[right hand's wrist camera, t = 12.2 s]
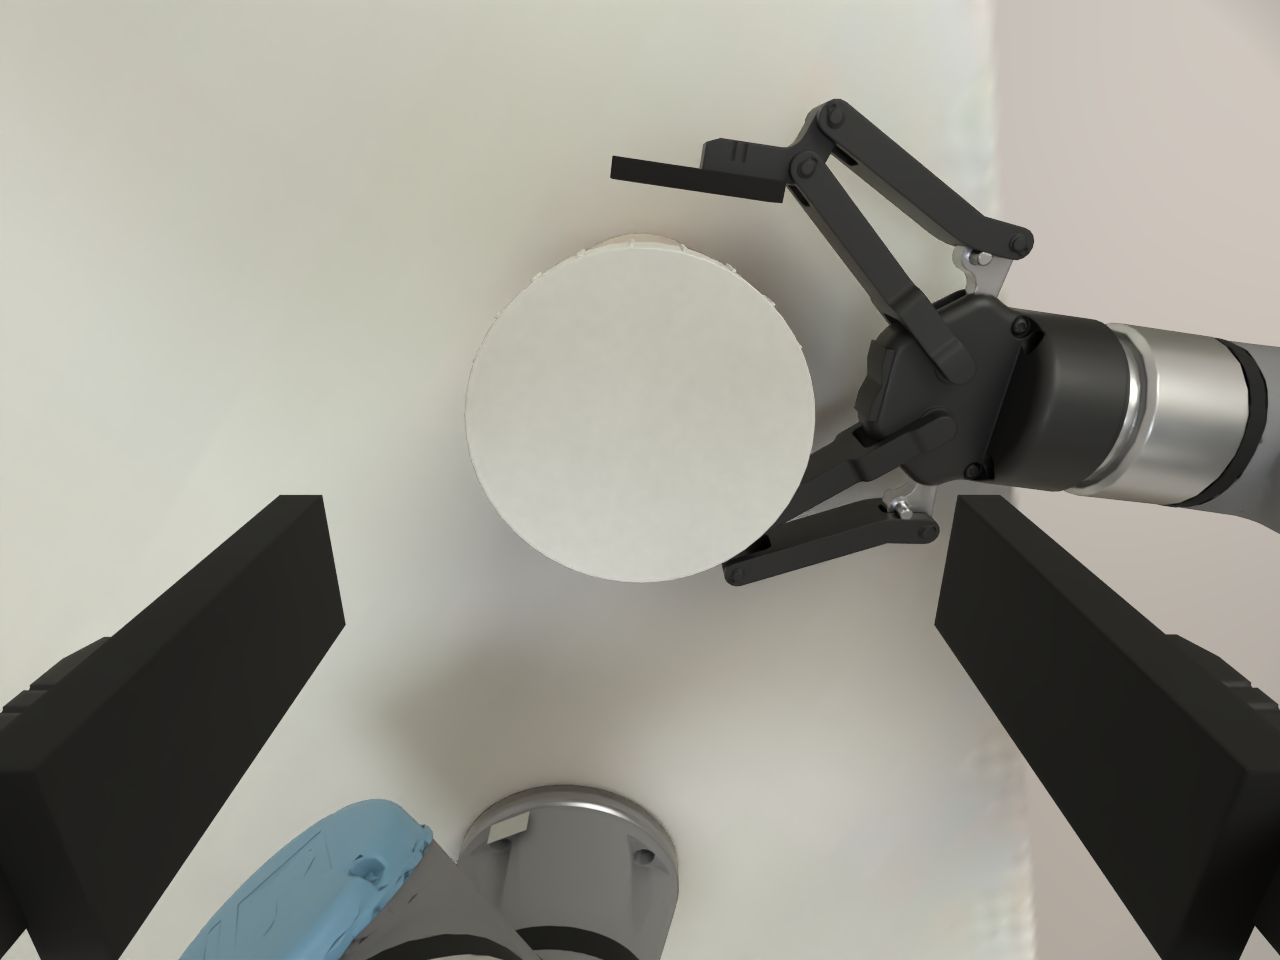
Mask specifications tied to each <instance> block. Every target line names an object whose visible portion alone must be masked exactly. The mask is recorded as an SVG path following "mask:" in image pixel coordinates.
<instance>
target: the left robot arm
mask: <svg viewBox="0 0 1280 960" xmlns="http://www.w3.org/2000/svg"><path fill="white" fill-rule="evenodd" d="M830 154H832V155H833V156H834V157H835V158H837V159H838V160H839V161H840V162H842V163H843V164H844V165H845V166H847V167H848V168H849V169H850V170H852V171H853V172H854V173H855V174H857V175H858V176H859V177H860V178H862V179H863V180H864V181H865V182H867V183H868V184H869V185H870V186H872V187H873V188H874V189H875V190H877V191H878V192H879V193H880V194H882V195H883V196H884V197H885V198H887V199H888V200H889V201H890V202H891V203H893V204H894V205H895V206H896V207H898V208H899V209H900V210H901V211H903V212H904V213H905V214H906V215H908V216H909V217H910V218H911V219H913V220H914V221H915V222H916V223H918V224H919V225H920V226H921V227H923V228H924V229H925V230H926V231H928V232H929V233H930V234H932V235H933V236H934V237H936V238H937V239H939V240H941V241H943V242H945V243H947V244H949V245H952V246H955V249H954V251H953V255H952V256H953V263H954V264H955V266H956V267H957V268H959V269H960V270H962V271H963V272H964V273H965V275H966V278H967V285H966V288H965V289H963V290H959V291H956V292H954V293H952V294H950V295H948V296H946V297H944V298H942V299H940V300H938V301H936V302H934V303H932V304H931V302H930V301H929V300H928V298H927V297H926V296H925V294H924V293H923V292H922V291H921V290H920V289H919V288H918V287H917V286H915V285H914V284H913V282H912V281H911V280H910V278H909V277H908V276H907V274H906V273H905V272H904V270H903V269H902V268H901V266H900V265H899V263H898V262H897V261H896V259H895V258H894V257H893V255H892V254H891V253H890V251H889V250H888V248H887V247H886V246H885V244H884V243H883V242H882V240H881V239H880V238H879V236H878V235H877V233H876V232H875V231H874V229H873V228H872V227H871V225H870V224H869V223H868V221H867V220H866V218H865V217H864V216H863V214H862V213H861V212H860V210H859V209H858V208H857V206H856V205H855V204H854V202H853V201H852V199H851V198H850V197H849V195H848V194H847V193H846V191H845V190H844V189H843V187H842V186H841V184H840V183H839V182H838V180H837V179H836V178H835V176H834V175H833V174H832V172H831V171H830V169H829V168H828V167H827V165H826V164H825V162H826V161H827V159H828V157H829V155H830ZM610 178H612V179H617V180H624V181H630V182H637V183H644V184H651V185H657V186H664V187H671V188H678V189H685V190H691V191H698V192H705V193H712V194H718V195H725V196H732V197H739V198H746V199H752V200H759V201H766V202H775V203H782V202H783V197H784V192H785V187H787V188H788V189H789V191H790V192H791V193H792V195H793V196H794V197H795V199H796V200H797V201H798V203H799V204H800V205H801V206H802V208H803V209H804V210H805V212H806V213H807V214H808V216H809V217H810V218H811V220H812V221H813V222H814V224H815V225H816V226H817V227H818V229H819V230H820V231H821V233H822V234H823V235H824V237H825V238H826V239H827V241H828V242H829V243H830V245H831V246H832V247H833V249H834V250H835V251H836V252H837V254H838V255H839V256H840V258H841V259H842V260H843V262H844V263H845V264H846V266H847V267H848V268H849V270H850V271H851V272H852V273H853V275H854V276H855V277H856V279H857V280H858V281H859V283H860V284H861V285H862V287H863V288H864V289H865V291H866V292H867V293H868V295H869V296H870V298H871V301H872V302H873V304H874V305H875V307H876V308H877V309H878V311H879V312H880V313H881V314H882V316H883V317H884V318H885V320H886V321H887V322H888V324H889V325H890V326H888V327H887V328H886V329H885V330H883V332H882V333H881V334H880V335H879V337H878V338H877V340H872V341H871V345H870V348H869V352H868V356H867V377H866V379H865V380H864V382H863V384H862V386H861V388H860V390H859V391H858V395H857V399H856V403H855V407H854V408H855V409H856V410H857V411H858V418H859V421H860V422H858V423H857V424H855V425H853V426H851V427H850V428H848V429H846V430H844V431H843V432H841V433H840V434H838V435H837V436H836V438H835V440H834V441H833V442H832V443H830V444H829V445H827V446H825V447H823V448H821V449H820V450H818V451H816V452H814V453H813V454H811V455H810V457H809V461H808V464H807V467H806V470H805V472H804V475H803V477H802V480H801V482H800V485H799V487H798V488H797V490H796V492H795V494H794V495H793V497H792V499H791V501H790V502H789V504H788V505H787V507H786V508H785V509H784V511H783V512H782V513H781V515H780V516H779V518H778V519H777V520H776V521H775V522H774V523H773V525H772V526H771V527H770V528H769V529H768V530H767V531H766V532H765V533H764V534H763V535H762V536H761V537H760V538H758V539H757V540H756V541H755V542H753V543H752V544H751V545H750V546H749V547H747V548H746V549H745V550H743V551H742V552H740V553H738V554H737V555H735V556H734V557H732V558H731V559H729V560H727V561H725V562H723V563H722V567H723V572H724V576H725V579H726V581H727V583H729V584H730V585H733V586H742V585H745V584H749V583H752V582H756V581H759V580H762V579H766V578H769V577H773V576H776V575H780V574H783V573H786V572H790V571H793V570H797V569H800V568H804V567H807V566H810V565H814V564H817V563H821V562H824V561H828V560H831V559H834V558H838V557H841V556H845V555H848V554H852V553H855V552H859V551H862V550H865V549H869V548H872V547H876V546H879V545H883V544H886V543H906V544H926V543H930V542H932V541H934V540H935V539H936V538H937V537H938V535H939V532H940V531H939V526H938V524H937V523H936V522H935V520H934V519H933V518H932V511H933V506H934V501H935V496H936V490H937V485H939V484H942V483H945V482H948V481H952V480H958V479H964V480H971V481H977V482H982V483H990V484H998V485H1006V486H1014V487H1021V488H1029V489H1037V490H1044V491H1062V490H1064V491H1065V492H1068V493H1071V494H1075V495H1079V496H1088V497H1097V498H1106V499H1115V500H1124V501H1133V502H1142V503H1151V504H1158V505H1163V506H1169V507H1181V508H1187V509H1194V510H1201V511H1208V512H1215V513H1221V514H1228V515H1235V516H1239V517H1243V518H1246V519H1250V520H1252V521H1255V522H1258V523H1260V524H1262V525H1264V526H1266V527H1268V528H1270V529H1272V530H1273V531H1275V532H1277V533H1279V534H1280V347H1274V346H1265V345H1257V344H1249V343H1241V342H1233V341H1227V340H1223V339H1219V338H1213V337H1208V336H1202V335H1195V334H1188V333H1181V332H1175V331H1167V330H1161V329H1154V328H1147V327H1141V326H1134V325H1127V324H1118V323H1109V324H1103V323H1102V322H1099V321H1097V320H1093V319H1087V318H1079V317H1073V316H1065V315H1058V314H1052V313H1045V312H1038V311H1031V310H1024V309H1017V308H1011V307H1007V306H1006V305H1004V304H1003V303H1002V302H1001V301H1000V300H999V299H998V298H997V296H998V294H999V292H1000V289H1001V287H1002V285H1003V282H1004V280H1005V278H1006V275H1007V273H1008V271H1009V268H1010V266H1011V264H1012V261H1013V260H1019V259H1022V258H1024V257H1025V256H1027V255H1028V254H1029V253H1030V251H1031V250H1032V248H1033V244H1034V238H1033V234H1032V233H1031V231H1030V230H1028V229H1026V228H1023V227H1020V226H1016V225H1013V224H1009V223H1006V222H1002V221H999V220H995V219H992V218H988V217H985V216H983V215H982V214H981V213H980V212H979V211H977V210H976V209H975V208H974V207H973V206H971V205H970V204H969V203H968V202H967V201H965V200H964V199H963V198H962V197H961V196H959V195H958V194H957V193H956V192H954V191H953V190H952V189H951V188H950V187H948V186H947V185H946V184H945V183H944V182H942V181H941V180H940V179H939V178H938V177H936V176H935V175H934V174H933V173H932V172H930V171H929V170H928V169H927V168H925V167H924V166H923V165H922V164H921V163H919V162H918V161H917V160H916V159H915V158H913V157H912V156H911V155H910V154H909V153H907V152H906V151H905V150H904V149H903V148H901V147H900V146H899V145H898V144H897V143H895V142H894V141H893V140H892V139H890V138H889V137H888V136H887V135H886V134H884V133H883V132H882V131H881V130H880V129H878V128H877V127H876V126H875V125H874V124H872V123H871V122H870V121H869V120H868V119H866V118H865V117H864V116H863V115H861V114H860V113H859V112H858V111H857V110H855V109H854V108H853V107H852V106H851V105H849V104H848V103H847V102H845V101H843V100H841V99H833V100H831V101H828V102H826V103H824V104H822V105H820V106H817V107H816V108H814V109H812V110H811V111H810V112H809V113H808V115H807V117H806V119H805V124H804V126H803V127H802V129H801V131H800V133H799V135H798V137H797V138H796V140H795V141H794V142H793V143H792V144H791V145H790V146H788V147H776V146H770V145H763V144H756V143H750V142H743V141H736V140H730V139H723V138H719V139H715V140H712V141H708V142H706V143H704V144H703V149H702V156H701V162H700V169H699V168H692V167H685V166H678V165H672V164H665V163H658V162H652V161H645V160H638V159H632V158H625V157H618V156H613V157H612V166H611V175H610ZM898 466H899V467H900V468H901V469H902V470H903V471H904V472H905V473H906V474H907V475H908V476H909V478H908V480H907V482H906V483H905V484H904V485H903V486H901V487H899V488H896V489H888V490H886V491H885V492H884V496H883V498H874V499H866V500H862V501H858V502H854V503H851V504H848V505H844V506H841V507H838V508H834V509H831V510H828V511H824V512H821V513H818V514H814V515H811V516H808V517H804V518H801V519H798V520H794V521H791V522H788V523H785V522H787V521H789V520H791V519H793V518H794V517H796V516H798V515H800V514H802V513H803V512H805V511H807V510H809V509H811V508H813V507H814V506H816V505H818V504H820V503H822V502H823V501H825V500H827V499H829V498H831V497H833V496H834V495H836V494H838V493H840V492H842V491H843V490H845V489H847V488H849V487H851V486H852V485H854V484H856V483H858V482H862V481H863V482H868V481H872V480H874V479H877V478H878V477H880V476H882V475H884V474H886V473H887V472H889V471H891V470H893V469H895V468H897V467H898ZM783 523H784V524H783ZM678 892H679V884H678V866H677V857H676V852H675V849H674V846H673V844H672V841H671V839H670V837H669V836H668V834H667V832H666V831H665V829H664V828H663V827H662V825H661V824H660V823H659V822H658V821H657V820H656V819H655V818H654V817H653V816H652V815H651V814H650V813H648V812H647V811H646V810H644V809H643V808H642V807H640V806H638V805H637V804H635V803H633V802H632V801H630V800H628V799H626V798H624V797H621V796H619V795H616V794H614V793H611V792H607V791H604V790H600V789H596V788H591V787H584V786H574V785H555V786H545V787H539V788H534V789H530V790H526V791H522V792H519V793H516V794H514V795H511V796H509V797H507V798H505V799H503V800H501V801H499V802H498V803H496V804H494V805H493V806H491V807H490V808H489V809H487V810H486V811H485V812H484V813H483V814H481V816H480V817H479V818H478V819H477V820H476V821H475V822H474V823H473V825H472V826H471V827H470V829H469V831H468V833H467V834H466V836H465V839H464V841H463V844H462V848H461V852H460V855H459V859H458V863H457V865H456V864H455V863H454V861H453V860H452V859H451V858H450V857H449V856H448V855H447V854H446V852H445V851H444V850H443V849H442V848H441V847H440V846H439V845H438V843H437V842H436V841H435V840H434V839H433V832H432V830H431V829H430V827H429V826H427V825H420V824H419V823H418V822H417V821H415V820H414V819H413V818H412V817H411V816H410V815H409V814H408V813H407V812H406V811H405V810H404V809H403V808H402V807H401V806H399V805H398V804H396V803H394V802H392V801H388V800H383V799H371V800H365V801H361V802H357V803H354V804H351V805H349V806H346V807H344V808H342V809H341V810H339V811H337V812H336V813H334V814H331V815H329V816H327V817H325V818H323V819H322V820H320V821H319V822H317V823H316V824H314V825H313V826H311V827H310V828H308V829H307V830H306V831H304V832H303V833H301V834H300V835H299V836H297V837H296V838H295V839H293V840H292V841H291V842H290V843H288V844H287V845H286V846H285V847H283V848H282V849H281V850H280V851H278V852H277V853H276V854H275V855H274V856H273V857H271V858H270V859H269V860H268V861H267V862H266V863H265V864H264V865H262V866H261V867H260V868H259V869H258V870H257V871H256V872H255V873H254V874H253V875H252V876H251V877H250V878H249V879H248V880H247V881H246V882H245V883H244V884H243V885H242V886H241V887H240V888H239V889H238V890H237V891H236V892H235V893H234V894H233V895H232V896H231V897H230V898H229V899H228V900H227V901H226V902H225V903H224V904H223V906H222V907H221V908H220V909H219V910H218V911H217V912H216V913H215V914H214V916H213V917H212V918H211V919H210V920H209V922H208V923H207V924H206V925H205V926H204V928H203V929H202V930H201V931H200V933H199V934H198V936H197V937H196V938H195V939H194V940H193V942H192V943H191V944H190V945H189V946H188V948H187V949H186V950H185V952H184V953H183V954H182V956H181V957H180V959H179V960H660V958H661V955H662V952H663V948H664V945H665V942H666V938H667V935H668V931H669V928H670V925H671V921H672V918H673V915H674V911H675V907H676V903H677V899H678Z"/></svg>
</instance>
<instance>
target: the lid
mask: <svg viewBox="0 0 1280 960" xmlns="http://www.w3.org/2000/svg"><path fill="white" fill-rule="evenodd" d="M531 282H532V283H531V284H529V285H528V286H527V287H526V288H525V289H524V290H522V291H521V292H520V293H519V294H518V295H517V296H516V297H515V298H514V299H513V300H512V301H511V302H510V303H509V304H508V305H507V306H506V307H505V308H504V309H503V310H501V311H500V312H499V313H498V314H497V315H496V316H495V318H496V320H495V322H494V323H493V325H492V326H491V327H490V329H489V331H488V332H487V334H486V336H485V338H484V340H483V342H482V344H481V346H480V348H479V350H478V352H477V355H476V357H475V359H474V360H473V366H472V369H471V372H470V377H469V382H468V387H467V392H466V403H465V427H466V438H467V443H468V448H469V453H470V457H471V461H472V463H473V466H474V469H475V472H476V475H477V478H478V480H479V482H480V484H481V486H482V488H483V490H484V492H485V494H486V496H487V498H488V499H489V501H490V502H491V503H492V505H493V506H494V508H495V509H496V511H497V512H498V514H499V515H500V516H501V518H502V519H503V520H504V521H505V522H506V523H507V524H508V525H509V527H510V528H511V529H512V530H513V531H514V532H515V533H516V534H517V535H518V536H520V537H521V538H522V539H523V540H524V541H525V542H526V543H528V544H529V545H530V546H531V547H533V548H534V549H536V550H537V551H539V552H540V553H542V554H543V555H544V556H546V557H548V558H549V559H551V560H553V561H555V562H557V563H559V564H561V565H563V566H565V567H567V568H570V569H572V570H575V571H578V572H580V573H583V574H586V575H590V576H593V577H597V578H601V579H605V580H613V581H620V582H636V583H649V582H660V581H669V580H674V579H678V578H683V577H688V576H691V575H694V574H697V573H700V572H703V571H706V570H708V569H711V568H713V567H715V566H717V565H719V564H721V563H723V562H725V561H727V560H729V559H731V558H732V557H734V556H735V555H737V554H738V553H740V552H742V551H743V550H745V549H746V548H747V547H749V546H750V545H751V544H752V543H753V542H755V541H756V540H757V539H758V538H760V537H761V536H762V535H763V534H764V533H765V532H766V531H767V530H768V529H769V528H770V527H771V526H772V525H773V523H774V522H775V521H776V520H777V519H778V518H779V516H780V515H781V513H782V512H783V511H784V509H785V508H786V507H787V505H788V504H789V502H790V501H791V499H792V497H793V495H794V494H795V492H796V490H797V488H798V487H799V485H800V482H801V480H802V477H803V475H804V472H805V470H806V467H807V464H808V461H809V457H810V453H811V449H812V445H813V437H814V429H815V399H814V392H813V386H812V380H811V376H810V373H809V370H808V366H807V363H806V360H805V357H804V354H803V352H802V350H801V349H802V346H801V345H800V344H799V343H798V342H797V339H796V337H795V335H794V334H793V332H792V331H791V329H790V328H789V326H788V325H787V323H786V322H785V320H784V319H783V317H782V316H781V315H780V313H779V312H778V311H777V310H776V309H775V308H774V306H775V305H776V304H775V303H774V302H773V301H771V300H770V299H769V298H768V297H767V296H765V295H762V294H761V293H760V292H758V291H757V290H756V289H755V288H754V287H753V286H751V285H750V284H749V283H748V282H747V281H746V280H744V279H743V278H742V277H741V276H740V275H739V274H737V273H736V270H735V269H734V268H733V267H732V266H730V265H729V264H728V263H726V265H723V264H722V263H720V262H718V261H716V260H714V259H712V258H710V257H708V256H705V255H703V254H701V253H699V252H696V251H692V250H689V249H687V248H686V247H685V245H683V244H680V247H679V246H675V245H669V244H662V243H656V242H634V239H630V242H626V243H618V244H610V245H606V246H602V247H598V248H594V249H590V250H587V251H586V250H585V248H584V249H581V250H580V251H579V252H578V253H577V255H575V256H572V257H570V258H567V259H566V260H564V261H562V262H561V263H559V264H557V265H555V266H554V267H552V268H550V269H549V270H547V271H546V272H545V273H543V274H542V272H539V273H538V274H537V275H536V276H534V277H533V278H532V279H531Z"/></svg>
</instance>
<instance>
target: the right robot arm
mask: <svg viewBox="0 0 1280 960" xmlns="http://www.w3.org/2000/svg"><path fill="white" fill-rule="evenodd" d="M345 625H346V624H345V619H344V613H343V607H342V602H341V596H340V591H339V585H338V580H337V574H336V569H335V563H334V558H333V552H332V547H331V541H330V536H329V530H328V525H327V519H326V514H325V508H324V502H323V497H322V495H279V496H278V497H277V498H276V499H275V500H273V501H272V502H271V503H270V504H269V505H267V506H266V507H265V508H264V509H263V510H261V511H260V512H259V513H258V514H257V515H256V516H254V517H253V518H252V519H251V520H250V521H248V522H247V523H246V524H245V525H244V526H243V527H241V528H240V529H239V530H238V531H237V532H235V533H234V534H233V535H232V536H231V537H229V538H228V539H227V540H226V541H225V542H224V543H222V544H221V545H220V546H219V547H218V548H216V549H215V550H214V551H213V552H212V553H210V554H209V555H208V556H207V557H206V558H205V559H203V560H202V561H201V562H200V563H199V564H197V565H196V566H195V567H194V568H193V569H191V570H190V571H189V572H188V573H187V574H186V575H184V576H183V577H182V578H181V579H180V580H178V581H177V582H176V583H175V584H174V585H173V586H171V587H170V588H169V589H168V590H167V591H165V592H164V593H163V594H162V595H161V596H159V597H158V598H157V599H156V600H155V601H154V602H152V603H151V604H150V605H149V606H148V607H146V608H145V609H144V610H143V611H142V612H140V613H139V614H138V615H137V616H136V617H135V618H133V619H132V620H131V621H130V622H129V623H127V624H126V625H125V626H124V627H123V628H122V629H120V630H119V631H118V632H117V633H116V634H114V635H113V636H112V637H103V638H101V639H99V640H97V641H96V642H94V643H92V644H90V645H88V646H86V647H84V648H82V649H80V650H79V651H77V652H75V653H73V654H71V655H69V656H67V657H65V658H63V659H62V660H61V661H59V662H58V663H57V664H56V665H54V666H53V667H52V668H51V669H49V670H48V671H47V672H46V673H44V674H43V675H42V676H41V677H40V678H38V679H37V680H36V681H35V682H33V683H32V684H31V685H30V689H29V690H23V691H22V692H21V693H20V694H19V695H17V696H16V697H15V698H14V699H12V700H11V701H10V702H9V703H7V704H6V705H5V706H4V707H3V711H2V713H0V959H1V958H2V957H3V956H4V955H5V953H6V952H7V951H8V950H9V949H10V947H11V946H12V945H13V944H14V942H15V941H16V940H17V939H18V938H19V936H20V935H21V934H22V933H23V932H24V930H25V929H27V931H28V933H29V935H30V937H31V939H32V941H33V944H34V946H35V948H36V950H37V952H38V954H39V957H40V959H41V960H118V959H119V958H120V956H121V955H122V953H123V952H124V950H125V949H126V947H127V946H128V944H129V943H130V941H131V940H132V938H133V937H134V936H135V934H136V933H137V931H138V930H139V928H140V927H141V925H142V924H143V922H144V921H145V919H146V918H147V916H148V915H149V913H150V912H151V911H152V909H153V908H154V906H155V905H156V903H157V902H158V900H159V899H160V897H161V896H162V894H163V893H164V891H165V890H166V888H167V887H168V885H169V884H170V883H171V881H172V880H173V878H174V877H175V875H176V874H177V872H178V871H179V869H180V868H181V866H182V865H183V863H184V862H185V860H186V859H187V858H188V856H189V855H190V853H191V852H192V850H193V849H194V847H195V846H196V844H197V843H198V841H199V840H200V838H201V837H202V835H203V834H204V832H205V831H206V830H207V828H208V827H209V825H210V824H211V822H212V821H213V819H214V818H215V816H216V815H217V813H218V812H219V810H220V809H221V807H222V806H223V805H224V803H225V802H226V800H227V799H228V797H229V796H230V794H231V793H232V791H233V790H234V788H235V787H236V785H237V784H238V782H239V781H240V780H241V778H242V777H243V775H244V774H245V772H246V771H247V769H248V768H249V766H250V765H251V763H252V762H253V760H254V759H255V757H256V756H257V754H258V753H259V752H260V750H261V749H262V747H263V746H264V744H265V743H266V741H267V740H268V738H269V737H270V735H271V734H272V732H273V731H274V729H275V728H276V727H277V725H278V724H279V722H280V721H281V719H282V718H283V716H284V715H285V713H286V712H287V710H288V709H289V707H290V706H291V704H292V703H293V701H294V700H295V699H296V697H297V696H298V694H299V693H300V691H301V690H302V688H303V687H304V685H305V684H306V682H307V681H308V679H309V678H310V676H311V675H312V674H313V672H314V671H315V669H316V668H317V666H318V665H319V663H320V662H321V660H322V659H323V657H324V656H325V654H326V653H327V651H328V650H329V648H330V647H331V646H332V644H333V643H334V641H335V640H336V638H337V637H338V635H339V634H340V632H341V631H342V629H343V628H344V626H345ZM934 625H935V626H936V628H937V629H938V631H939V632H940V634H941V635H942V637H943V638H944V640H945V641H946V643H947V644H948V646H949V647H950V648H951V650H952V651H953V653H954V654H955V656H956V657H957V659H958V660H959V662H960V663H961V665H962V666H963V668H964V669H965V671H966V672H967V674H968V675H969V676H970V678H971V679H972V681H973V682H974V684H975V685H976V687H977V688H978V690H979V691H980V693H981V694H982V696H983V697H984V699H985V700H986V701H987V703H988V704H989V706H990V707H991V709H992V710H993V712H994V713H995V715H996V716H997V718H998V719H999V721H1000V722H1001V724H1002V725H1003V727H1004V728H1005V729H1006V731H1007V732H1008V734H1009V735H1010V737H1011V738H1012V740H1013V741H1014V743H1015V744H1016V746H1017V747H1018V749H1019V750H1020V752H1021V753H1022V754H1023V756H1024V757H1025V759H1026V760H1027V762H1028V763H1029V765H1030V766H1031V768H1032V769H1033V771H1034V772H1035V774H1036V775H1037V777H1038V778H1039V780H1040V781H1041V782H1042V784H1043V785H1044V787H1045V788H1046V790H1047V791H1048V793H1049V794H1050V796H1051V797H1052V798H1053V800H1054V802H1055V803H1056V805H1057V806H1058V807H1059V809H1060V810H1061V812H1062V813H1063V815H1064V816H1065V818H1066V819H1067V821H1068V822H1069V824H1070V825H1071V827H1072V828H1073V830H1074V831H1075V832H1076V834H1077V835H1078V837H1079V838H1080V840H1081V841H1082V843H1083V844H1084V846H1085V847H1086V849H1087V850H1088V852H1089V853H1090V855H1091V856H1092V857H1093V859H1094V860H1095V862H1096V863H1097V865H1098V866H1099V868H1100V869H1101V871H1102V872H1103V874H1104V875H1105V877H1106V878H1107V880H1108V881H1109V883H1110V884H1111V885H1112V887H1113V888H1114V890H1115V891H1116V893H1117V894H1118V896H1119V897H1120V899H1121V900H1122V902H1123V903H1124V905H1125V906H1126V908H1127V909H1128V911H1129V912H1130V913H1131V915H1132V916H1133V918H1134V919H1135V921H1136V922H1137V924H1138V925H1139V927H1140V928H1141V930H1142V931H1143V933H1144V934H1145V936H1146V937H1147V938H1148V940H1149V941H1150V943H1151V944H1152V946H1153V947H1154V949H1155V950H1156V952H1157V953H1158V955H1159V956H1160V958H1161V959H1162V960H1239V959H1240V956H1241V954H1242V952H1243V950H1244V948H1245V946H1246V944H1247V941H1248V939H1249V937H1250V935H1251V933H1252V931H1253V928H1254V926H1256V927H1257V929H1258V930H1259V931H1260V932H1261V933H1262V935H1263V936H1264V937H1265V938H1266V939H1267V941H1268V942H1269V943H1270V944H1271V945H1272V947H1273V948H1274V949H1275V950H1276V951H1277V953H1278V954H1279V955H1280V710H1279V708H1278V704H1277V703H1276V702H1275V701H1273V700H1272V699H1271V698H1270V697H1268V696H1267V695H1266V694H1265V693H1263V692H1262V691H1261V690H1260V689H1258V688H1252V687H1251V682H1250V681H1248V680H1247V679H1246V678H1245V677H1244V676H1242V675H1241V674H1240V673H1239V672H1237V671H1236V670H1235V669H1234V668H1232V667H1231V666H1230V665H1229V664H1227V663H1226V662H1225V661H1224V660H1222V659H1221V658H1220V657H1218V656H1217V655H1215V654H1213V653H1211V652H1209V651H1207V650H1205V649H1203V648H1201V647H1199V646H1198V645H1196V644H1194V643H1192V642H1190V641H1188V640H1186V639H1184V638H1182V637H1180V636H1179V635H1166V634H1164V633H1163V632H1162V631H1161V630H1160V629H1158V628H1157V627H1156V626H1155V625H1154V624H1153V623H1151V622H1150V621H1149V620H1148V619H1147V618H1145V617H1144V616H1143V615H1142V614H1141V613H1140V612H1138V611H1137V610H1136V609H1135V608H1133V607H1132V606H1131V605H1130V604H1129V603H1128V602H1126V601H1125V600H1124V599H1123V598H1122V597H1121V596H1119V595H1118V594H1117V593H1116V592H1115V591H1113V590H1112V589H1111V588H1110V587H1109V586H1107V585H1106V584H1105V583H1104V582H1103V581H1102V580H1100V579H1099V578H1098V577H1097V576H1096V575H1094V574H1093V573H1092V572H1091V571H1090V570H1088V569H1087V568H1086V567H1085V566H1084V565H1082V564H1081V563H1080V562H1079V561H1078V560H1077V559H1075V558H1074V557H1073V556H1072V555H1071V554H1070V553H1068V552H1067V551H1066V550H1065V549H1064V548H1062V547H1061V546H1060V545H1059V544H1058V543H1056V542H1055V541H1054V540H1053V539H1052V538H1051V537H1049V536H1048V535H1047V534H1046V533H1045V532H1043V531H1042V530H1041V529H1040V528H1039V527H1037V526H1036V525H1035V524H1034V523H1033V522H1032V521H1030V520H1029V519H1028V518H1027V517H1026V516H1024V515H1023V514H1022V513H1021V512H1020V511H1019V510H1017V509H1016V508H1015V507H1014V506H1013V505H1011V504H1010V503H1009V502H1008V501H1007V500H1005V499H1004V498H1003V497H1002V496H1001V495H958V497H957V502H956V508H955V514H954V519H953V525H952V530H951V536H950V541H949V547H948V552H947V558H946V563H945V569H944V574H943V580H942V585H941V591H940V596H939V602H938V607H937V613H936V619H935V624H934Z"/></svg>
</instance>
